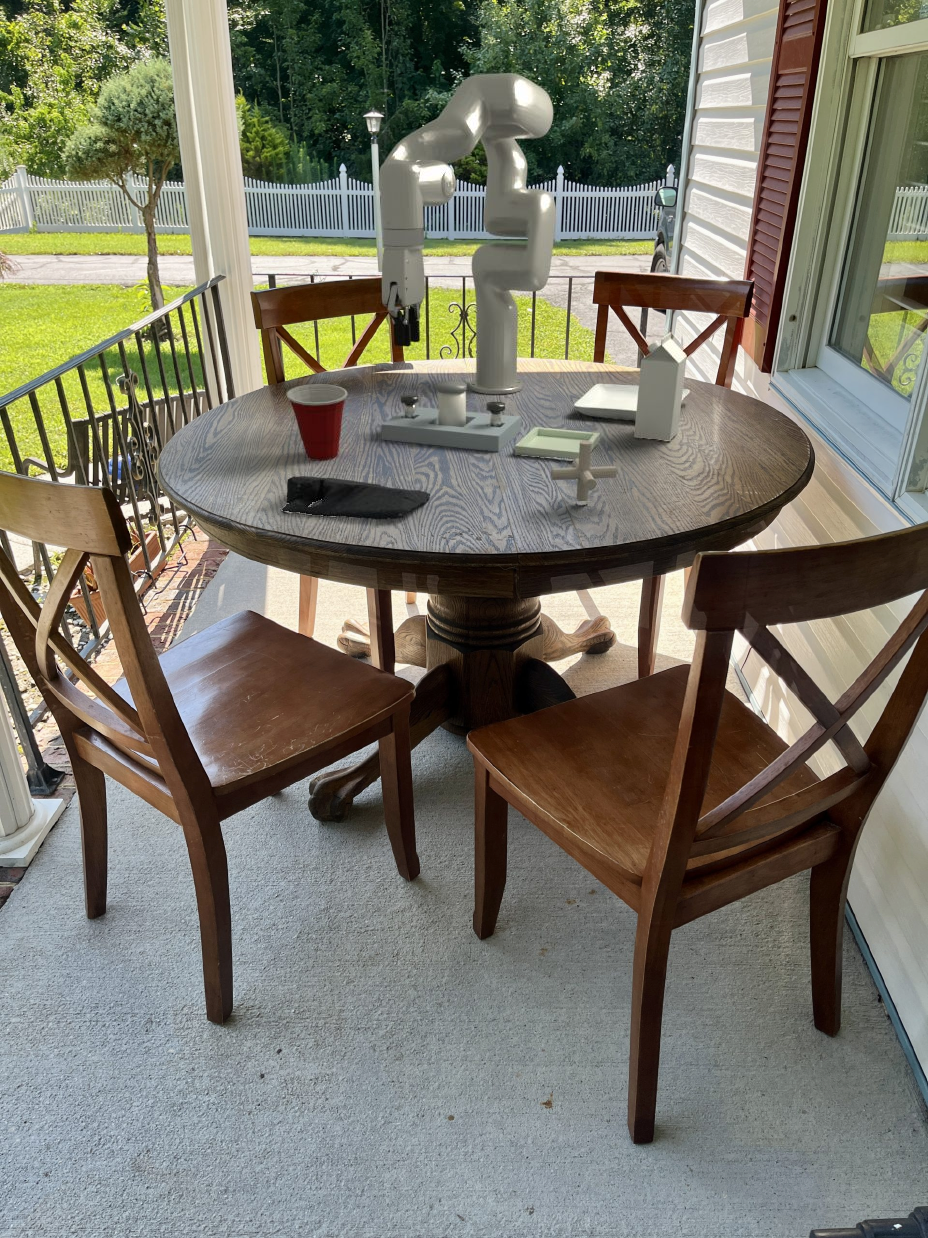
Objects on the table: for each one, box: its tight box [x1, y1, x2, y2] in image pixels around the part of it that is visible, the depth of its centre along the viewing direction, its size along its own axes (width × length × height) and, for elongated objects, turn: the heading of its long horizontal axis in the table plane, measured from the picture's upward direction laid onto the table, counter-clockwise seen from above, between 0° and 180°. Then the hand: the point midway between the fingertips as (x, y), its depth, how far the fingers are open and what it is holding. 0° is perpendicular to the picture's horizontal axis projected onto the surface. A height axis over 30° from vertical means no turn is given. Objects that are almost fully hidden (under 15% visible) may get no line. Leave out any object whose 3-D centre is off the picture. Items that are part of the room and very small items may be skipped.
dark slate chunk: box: [281, 475, 431, 520], centre depth 134 cm, size 15×22×5 cm
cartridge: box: [436, 380, 468, 427], centre depth 165 cm, size 6×6×10 cm
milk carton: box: [633, 331, 688, 441], centre depth 161 cm, size 7×7×19 cm
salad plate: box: [573, 383, 690, 421], centre depth 182 cm, size 21×21×3 cm
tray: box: [514, 426, 601, 459], centre depth 159 cm, size 13×13×2 cm
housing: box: [381, 406, 522, 452], centre depth 166 cm, size 14×24×3 cm, turn 69°
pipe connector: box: [550, 441, 618, 501], centre depth 132 cm, size 10×10×10 cm
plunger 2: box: [485, 401, 506, 427], centre depth 162 cm, size 4×4×6 cm
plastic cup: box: [286, 383, 348, 461], centre depth 154 cm, size 11×11×12 cm
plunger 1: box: [399, 393, 420, 419], centre depth 168 cm, size 4×4×6 cm
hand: (407, 342), depth 162 cm, fingers open, 3 cm apart
